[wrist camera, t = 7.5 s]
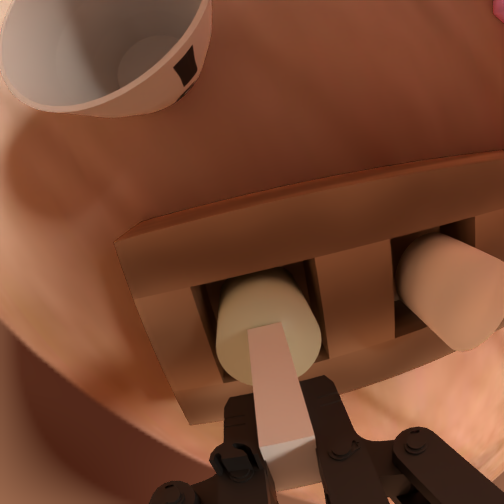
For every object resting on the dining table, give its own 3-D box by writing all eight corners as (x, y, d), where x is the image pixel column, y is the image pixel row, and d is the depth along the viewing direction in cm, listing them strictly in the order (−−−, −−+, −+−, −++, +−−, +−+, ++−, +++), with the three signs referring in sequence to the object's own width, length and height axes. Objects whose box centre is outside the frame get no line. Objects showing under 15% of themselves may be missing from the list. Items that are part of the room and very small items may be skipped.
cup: (214, 134, 18) (195, 107, 8) (87, 134, 17) (-18, 125, 8) (227, 14, 16) (226, -87, 6) (104, 20, 15) (30, -52, 5)
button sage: (209, 273, 18) (202, 313, 13) (292, 253, 18) (313, 287, 13) (230, 342, 20) (231, 395, 15) (306, 325, 20) (326, 373, 15)
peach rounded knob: (392, 242, 16) (445, 274, 11) (458, 224, 16) (515, 247, 11) (396, 319, 17) (438, 365, 13) (457, 296, 17) (505, 331, 13)
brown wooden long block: (141, 221, 19) (113, 242, 14) (528, 147, 19) (568, 151, 14) (196, 378, 22) (190, 425, 18) (529, 272, 22) (562, 290, 17)
